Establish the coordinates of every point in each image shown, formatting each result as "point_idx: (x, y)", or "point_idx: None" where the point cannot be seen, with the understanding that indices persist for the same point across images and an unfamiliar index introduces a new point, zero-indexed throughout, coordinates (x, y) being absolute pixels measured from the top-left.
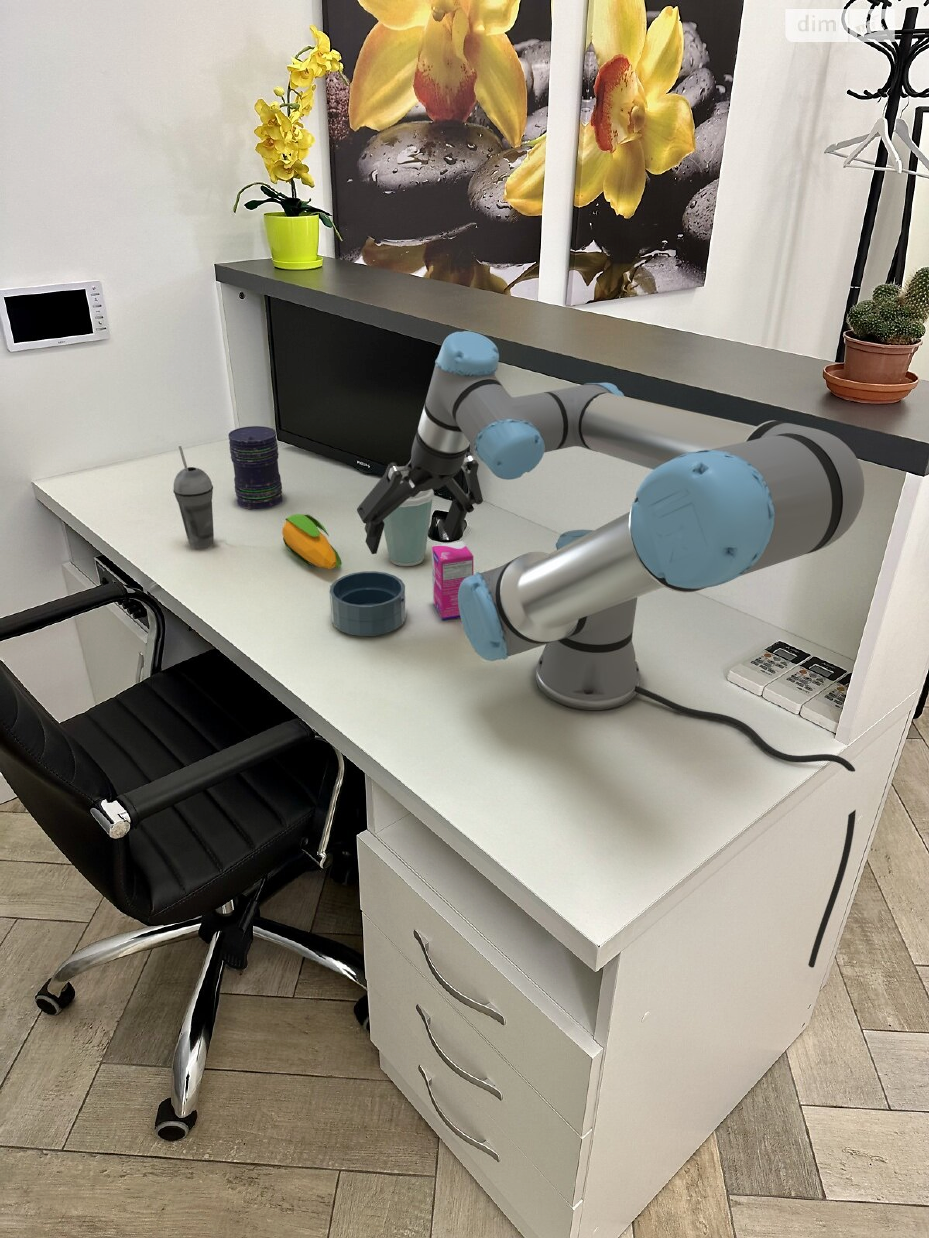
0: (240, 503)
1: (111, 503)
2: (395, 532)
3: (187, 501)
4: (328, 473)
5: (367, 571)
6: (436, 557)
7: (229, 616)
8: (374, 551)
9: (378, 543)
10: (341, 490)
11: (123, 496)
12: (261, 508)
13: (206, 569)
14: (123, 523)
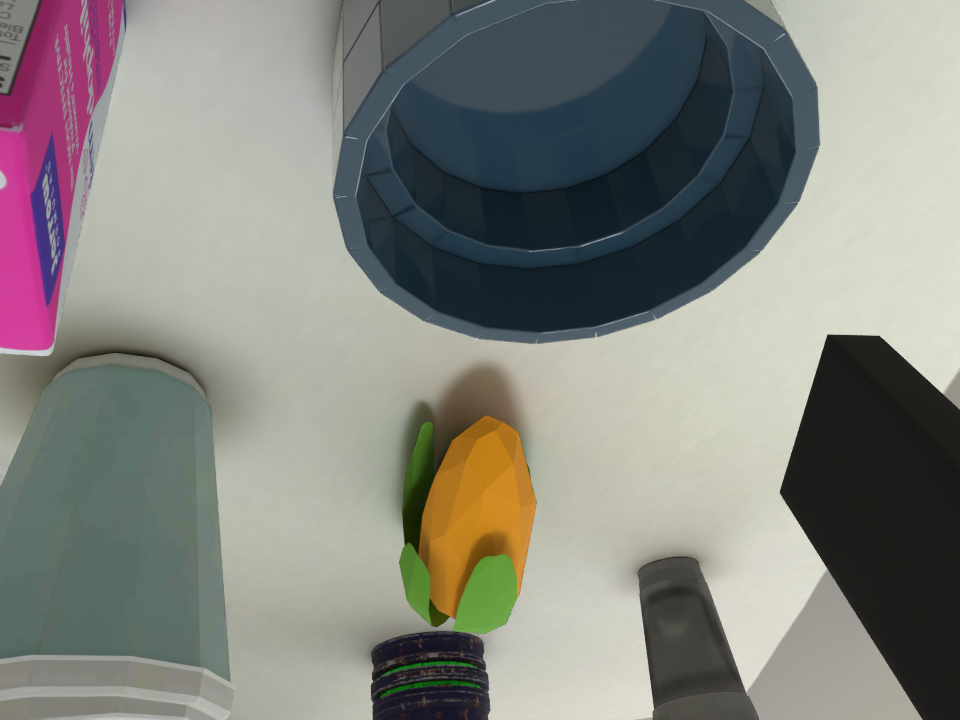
0: (483, 651)
1: None
2: (181, 517)
3: (746, 707)
4: None
5: (463, 332)
6: (46, 221)
7: (927, 314)
8: (879, 357)
9: (933, 431)
10: None
11: None
12: (445, 634)
13: (747, 502)
14: (729, 635)
